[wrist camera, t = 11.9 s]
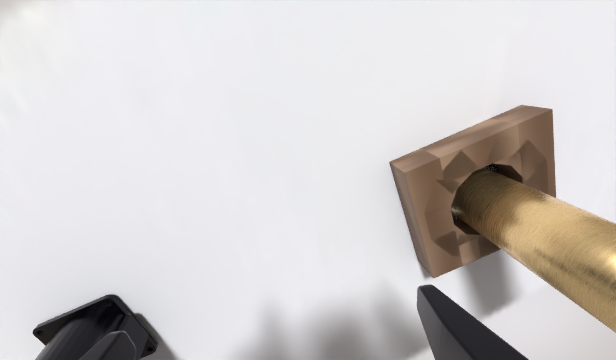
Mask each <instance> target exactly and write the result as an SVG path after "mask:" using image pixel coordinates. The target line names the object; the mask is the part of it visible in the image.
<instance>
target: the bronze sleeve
mask: <svg viewBox="0 0 616 360" xmlns="http://www.w3.org/2000/svg"><path fill="white" fill-rule="evenodd" d="M451 213H453V214H454V215H455V216H457V217H458V218H460V219H461V220H462V221H464V222H465V223H466V224H468V225H469V226H471V227H472V228H473V229H475V230H476V231H477V232H479V233H480V234H481V235H483V236H484V237H486V238H487V239H488V240H490V241H491V242H492V243H494V244H495V245H497V246H498V247H499V248H501V249H502V250H503V251H505V252H506V253H507V254H509V255H510V256H512V257H513V258H514V259H516V260H517V261H518V262H520V263H521V264H522V265H524V266H525V267H527V268H528V269H529V270H531V271H532V272H533V273H535V274H536V275H538V276H539V277H540V278H542V279H543V280H544V281H546V282H547V283H548V284H550V285H551V286H553V287H554V288H555V289H557V290H558V291H559V292H561V293H562V294H564V295H565V296H566V297H568V298H569V299H570V300H572V301H573V302H575V303H576V304H577V305H579V306H580V307H581V308H583V309H584V310H585V311H587V312H588V313H590V314H591V315H592V316H594V317H595V318H596V319H598V320H599V321H600V322H602V323H603V324H605V325H606V326H607V327H609V328H610V329H611V330H613V331H614V332H616V224H615V223H613V222H610V221H608V220H606V219H603V218H601V217H599V216H596V215H594V214H592V213H589V212H587V211H585V210H582V209H580V208H578V207H575V206H573V205H571V204H568V203H566V202H564V201H561V200H559V199H557V198H554V197H552V196H550V195H548V194H545V193H543V192H541V191H538V190H536V189H534V188H531V187H529V186H527V185H524V184H522V183H520V182H517V181H515V180H513V179H510V178H508V177H506V176H503V175H501V174H499V173H496V172H494V171H492V170H489V169H487V168H485V167H483V168H481V169H478V170H476V171H474V172H472V173H471V174H470V175H469V176H468V178H467V179H466V180H465V181H464V182H463V183H462V184H461V185H460V186H459V187H458V188H457V190H456V193H455V196H454V199H453V202H452V205H451Z"/></svg>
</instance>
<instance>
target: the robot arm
mask: <svg viewBox="0 0 616 360" xmlns="http://www.w3.org/2000/svg"><path fill="white" fill-rule="evenodd" d="M108 301H110V302H111V303H110V302H108ZM417 309H418V313H419V316H420V319H421V321H422V324H423V327H424V330H425V333H426V335H427V338H428V341H429V344H430V346H431V349H432V352H433V355H434V358H435V360H528V359H527V358H526V357H525V356H523V355H522V354H521V353H519V352H518V351H517V350H516V349H514V348H513V347H512V346H510V345H509V344H508V343H507V342H505V341H504V340H503V339H502V338H500V337H499V336H497V335H496V334H495V333H494V332H492V331H491V330H490V329H489V328H487V327H486V326H485V325H484V324H482V323H481V322H480V321H478V320H477V319H476V318H475V317H473V316H472V315H471V314H469V313H468V312H467V311H465V310H464V309H463V308H462V307H460V306H459V305H458V304H456V303H455V302H454V301H453V300H451V299H450V298H449V297H447V296H446V295H445V294H444V293H442V292H441V291H440V290H438V289H437V288H436V287H435V286H433V285H423V286H419V287H418V290H417ZM33 334H34V336H35V337H37V338H38V339H39V340H40V341H41V342H42V343H43V344H44V345H46V346H45V348H44V349H43V350H42V351H41V353H40V354H39V355H38V357H37V358H36V359H35V360H139V359H141V358H143V357H145V356H148V355H150V354H152V353H154V352H155V351H156V349H157V347H158V344H157V342H156V341H155V340H154V339H153V338H152V337H151V335H150V334H149V333H148V332H147V331H146V330H145V329H144V328H143V326H142V325H141V324H140V323H139V322H138V321H137V320H136V319H135V317H134V316H133V315H132V314H131V313H130V312H129V311H128V310H127V309H126V307H125V306H124V305H123V304H122V303H121V302H120V301H119V300H118V298H117V297H115V296H114V295H106V296H104V297H101V298H99V299H97V300H94V301H92V302H90V303H87V304H85V305H83V306H80V307H78V308H76V309H73V310H71V311H69V312H67V313H64V314H62V315H60V316H57V317H55V318H53V319H50V320H48V321H46V322H43V323H41V324H39V325H38V326H37V327H36V328H35V329H34V330H33Z"/></svg>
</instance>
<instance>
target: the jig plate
mask: <svg viewBox="0 0 616 360" xmlns="http://www.w3.org/2000/svg"><path fill="white" fill-rule="evenodd" d="M389 163H390V166H391V169H392V173H393V176H394V180H395V183H396V186H397V190H398V193H399V197H400V200H401V203H402V207H403V210H404V214H405V217H406V221H407V224H408V227H409V231H410V234H411V238H412V241H413V244H414V248H415V251H416V255H417V258H418V260H419V262H420V263H421V264H422V265H423V266H424V268H425V269H426V270H427V271H428V272H429V274H430V275H431V276H432V277H433V278H436V277H438V276H440V275H443V274H445V273H447V272H450V271H452V270H454V269H456V268H459V267H461V266H463V265H466V264H468V263H470V262H473V261H475V260H477V259H479V258H482V257H484V256H486V255H489V254H491V253H493V252H496V251H498V250H500V249H501V248H499V247H498V246H497V245H495V244H494V243H492V242H491V241H490V240H488V239H487V238H486V237H484V236H483V235H481V234H480V233H479V232H477V231H476V230H475V229H473V228H472V227H471V226H469V225H468V224H466V223H465V222H464V221H462V220H453V217H452V213H451V205H452V202H453V199H454V196H455V193H456V190H457V188H458V187H459V186H460V185H461V184H462V183H463V182H464V181H465V180H466V179H467V178H468V176H469V175H470V174H471V173H472V172H474V171H476V170H478V169H481V168H483V167H485V166H488V165H490V164H492V163H494V164H495V165H496V166H497V173H499V174H501V175H503V176H506V177H508V178H510V179H513V180H515V181H517V182H520V183H522V184H524V185H527V186H529V187H531V188H534V189H536V190H538V191H541V192H543V193H545V194H548V195H550V196H552V197H554V198H556V185H555V161H554V137H553V113H552V109H547V108H540V107H532V106H525V105H521V106H518V107H516V108H514V109H511V110H509V111H507V112H504V113H502V114H500V115H497V116H495V117H493V118H491V119H488V120H486V121H484V122H481V123H479V124H477V125H474V126H472V127H470V128H467V129H465V130H463V131H460V132H458V133H456V134H453V135H451V136H449V137H446V138H444V139H442V140H440V141H437V142H435V143H433V144H430V145H428V146H426V147H423V148H421V149H419V150H416V151H414V152H412V153H409V154H407V155H405V156H402V157H400V158H398V159H396V160H393V161H391V162H389Z"/></svg>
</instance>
